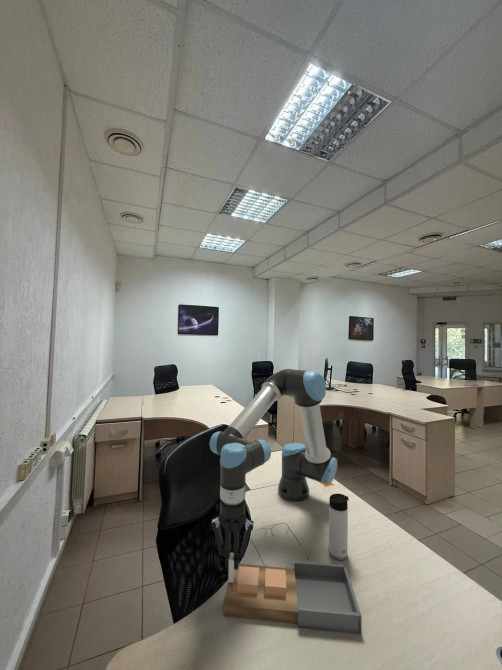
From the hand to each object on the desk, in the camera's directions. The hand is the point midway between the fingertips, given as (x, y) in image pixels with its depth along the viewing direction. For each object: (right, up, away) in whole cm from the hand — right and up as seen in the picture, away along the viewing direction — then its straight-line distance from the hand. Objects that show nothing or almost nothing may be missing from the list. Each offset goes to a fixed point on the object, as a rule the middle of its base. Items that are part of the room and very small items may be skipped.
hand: (231, 578), depth 82 cm
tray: (+27, -4, -2) cm, 27 cm away
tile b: (+13, -1, -1) cm, 13 cm away
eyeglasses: (+15, -5, +16) cm, 23 cm away
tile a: (+5, -1, -1) cm, 5 cm away
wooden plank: (+9, -4, -1) cm, 10 cm away
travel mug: (+37, -5, +15) cm, 40 cm away
